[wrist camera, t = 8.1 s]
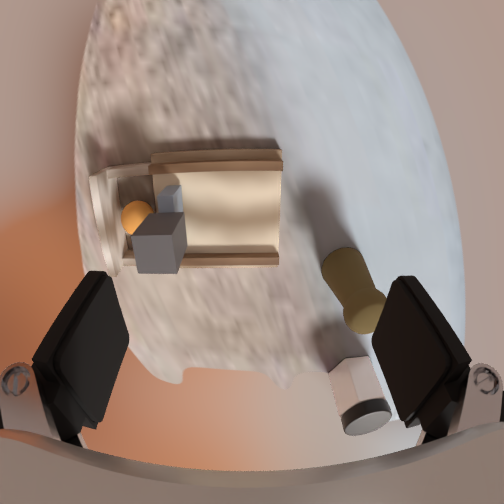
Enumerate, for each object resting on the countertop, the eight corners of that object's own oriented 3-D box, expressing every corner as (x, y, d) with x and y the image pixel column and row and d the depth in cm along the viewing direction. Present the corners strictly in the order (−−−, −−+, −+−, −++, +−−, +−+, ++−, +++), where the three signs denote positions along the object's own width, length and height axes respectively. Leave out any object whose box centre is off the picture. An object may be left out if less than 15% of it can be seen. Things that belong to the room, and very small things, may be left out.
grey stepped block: (158, 186, 30) (127, 216, 22) (190, 184, 30) (169, 214, 22) (165, 243, 33) (141, 289, 25) (194, 243, 33) (179, 290, 25)
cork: (335, 240, 35) (366, 291, 26) (372, 256, 37) (407, 306, 27) (313, 279, 38) (333, 336, 28) (349, 291, 39) (376, 346, 29)
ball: (141, 207, 28) (158, 196, 32) (111, 207, 29) (130, 196, 32) (146, 242, 30) (162, 228, 34) (117, 240, 31) (134, 226, 34)
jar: (349, 388, 50) (364, 438, 40) (319, 379, 48) (331, 435, 38) (381, 360, 47) (403, 411, 36) (352, 349, 45) (373, 406, 34)
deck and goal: (107, 158, 30) (87, 167, 25) (280, 149, 30) (286, 155, 26) (124, 263, 36) (110, 283, 32) (276, 262, 37) (280, 284, 32)
